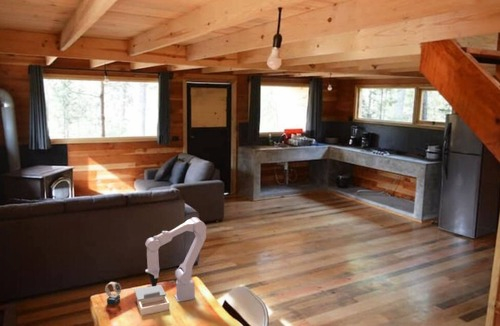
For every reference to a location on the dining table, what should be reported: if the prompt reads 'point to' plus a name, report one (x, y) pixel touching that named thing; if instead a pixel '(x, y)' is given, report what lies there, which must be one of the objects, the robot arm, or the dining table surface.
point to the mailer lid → (149, 292)
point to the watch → (113, 298)
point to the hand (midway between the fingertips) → (154, 285)
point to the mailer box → (153, 305)
